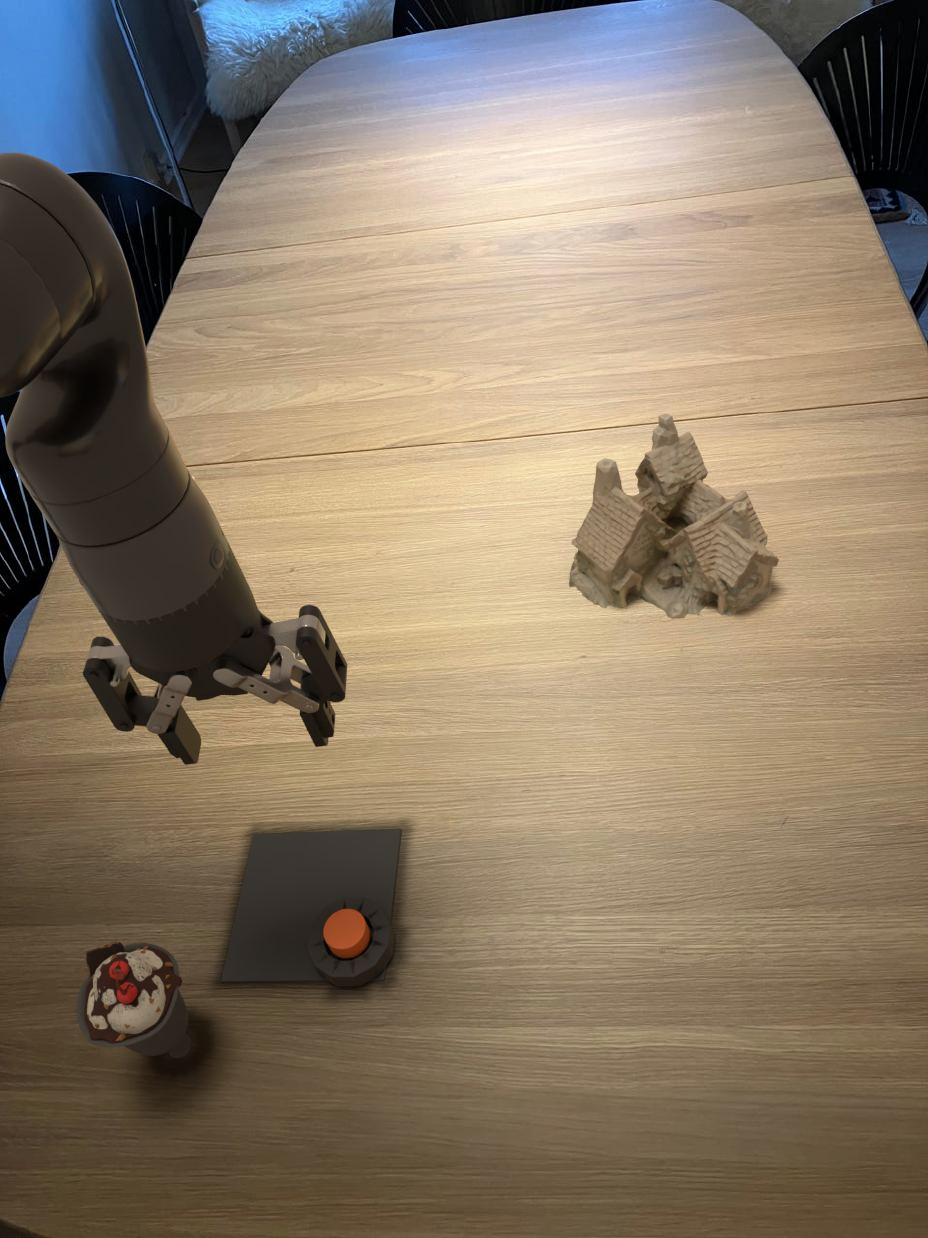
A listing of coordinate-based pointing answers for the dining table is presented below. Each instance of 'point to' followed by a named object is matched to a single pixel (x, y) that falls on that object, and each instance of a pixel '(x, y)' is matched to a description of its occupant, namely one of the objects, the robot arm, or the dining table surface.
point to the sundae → (134, 1000)
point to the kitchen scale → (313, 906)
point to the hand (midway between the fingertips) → (258, 744)
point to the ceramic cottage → (670, 536)
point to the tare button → (346, 933)
